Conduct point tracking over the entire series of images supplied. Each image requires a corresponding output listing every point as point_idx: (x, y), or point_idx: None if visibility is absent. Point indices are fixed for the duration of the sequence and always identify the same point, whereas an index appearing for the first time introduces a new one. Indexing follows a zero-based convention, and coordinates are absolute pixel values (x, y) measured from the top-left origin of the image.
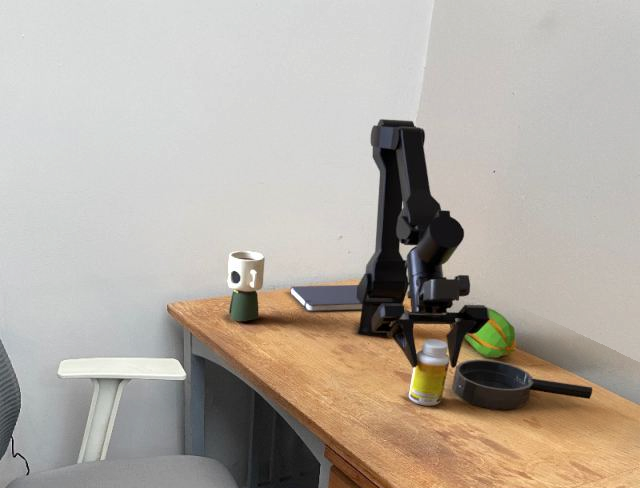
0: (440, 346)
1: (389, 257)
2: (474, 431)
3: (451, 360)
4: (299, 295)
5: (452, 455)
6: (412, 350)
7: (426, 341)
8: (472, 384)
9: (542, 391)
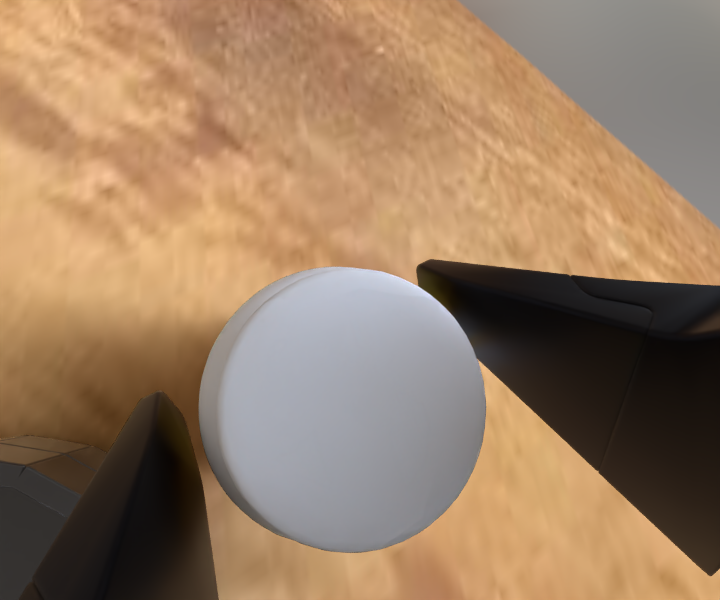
0: (295, 319)
1: None
2: (94, 194)
3: (185, 456)
4: None
5: (175, 17)
6: (510, 274)
7: (463, 396)
8: (57, 479)
9: None
